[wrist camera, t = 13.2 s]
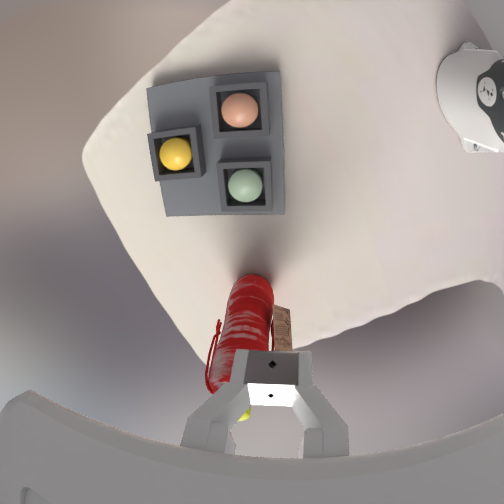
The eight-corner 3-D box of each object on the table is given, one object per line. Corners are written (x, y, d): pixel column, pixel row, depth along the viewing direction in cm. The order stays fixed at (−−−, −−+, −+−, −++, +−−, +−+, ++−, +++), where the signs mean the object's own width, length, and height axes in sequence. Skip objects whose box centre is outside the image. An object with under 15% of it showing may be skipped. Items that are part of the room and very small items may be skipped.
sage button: (262, 166, 35) (261, 169, 33) (263, 196, 37) (262, 201, 36) (229, 167, 36) (226, 171, 34) (232, 197, 38) (229, 202, 36)
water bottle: (299, 273, 46) (300, 410, 25) (291, 307, 51) (287, 433, 30) (229, 264, 47) (189, 395, 26) (227, 298, 51) (196, 420, 30)
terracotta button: (258, 92, 30) (256, 92, 28) (260, 124, 32) (258, 126, 30) (223, 94, 30) (220, 94, 29) (226, 126, 33) (222, 128, 31)
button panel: (279, 72, 30) (279, 69, 26) (284, 208, 40) (284, 222, 37) (152, 88, 32) (137, 88, 28) (171, 211, 43) (160, 223, 39)
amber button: (193, 134, 33) (188, 136, 32) (196, 165, 36) (192, 168, 34) (163, 138, 34) (157, 141, 32) (167, 167, 36) (162, 171, 35)
